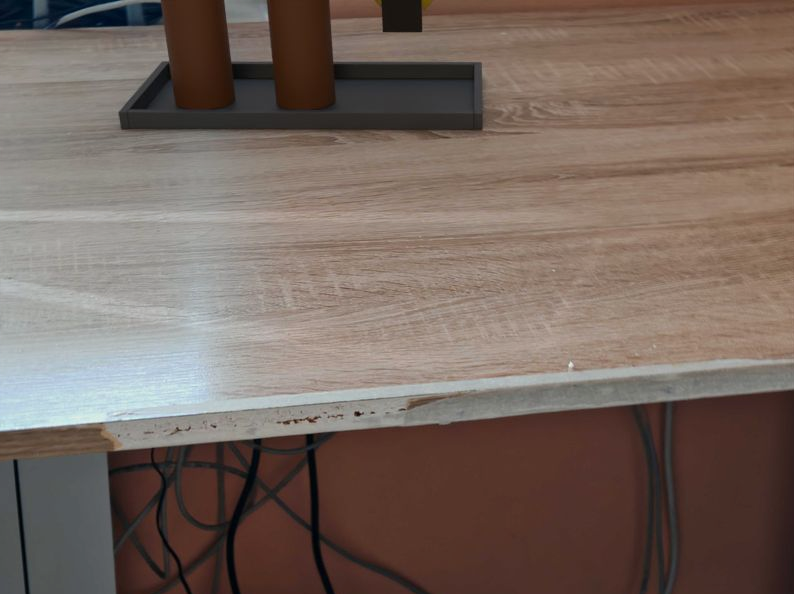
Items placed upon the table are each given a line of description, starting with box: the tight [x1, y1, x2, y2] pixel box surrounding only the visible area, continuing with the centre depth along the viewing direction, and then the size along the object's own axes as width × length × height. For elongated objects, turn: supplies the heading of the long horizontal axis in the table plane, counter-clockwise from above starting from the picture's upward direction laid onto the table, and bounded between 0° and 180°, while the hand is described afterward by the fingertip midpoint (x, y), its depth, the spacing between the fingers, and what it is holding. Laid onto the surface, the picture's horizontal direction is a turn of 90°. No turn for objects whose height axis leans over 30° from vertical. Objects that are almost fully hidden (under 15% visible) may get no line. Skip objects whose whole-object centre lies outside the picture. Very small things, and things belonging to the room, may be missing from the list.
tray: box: [117, 60, 484, 131], centre depth 80 cm, size 25×12×2 cm, turn 90°
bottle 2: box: [266, 0, 336, 110], centre depth 77 cm, size 4×4×13 cm
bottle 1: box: [160, 0, 235, 110], centre depth 77 cm, size 4×4×13 cm
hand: (405, 18), depth 77 cm, fingers closed on lemon, 5 cm apart
